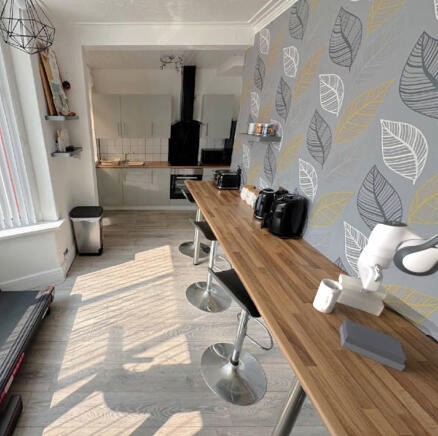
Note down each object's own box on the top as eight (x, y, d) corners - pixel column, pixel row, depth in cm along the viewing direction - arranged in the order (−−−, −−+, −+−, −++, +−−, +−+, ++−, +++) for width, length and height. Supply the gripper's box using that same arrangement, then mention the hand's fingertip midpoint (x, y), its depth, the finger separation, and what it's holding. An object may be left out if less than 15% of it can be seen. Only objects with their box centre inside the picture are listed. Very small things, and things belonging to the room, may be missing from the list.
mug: (312, 299, 101) (321, 276, 96) (331, 305, 98) (341, 282, 93) (312, 314, 93) (322, 290, 88) (333, 322, 90) (344, 297, 85)
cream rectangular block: (380, 290, 97) (383, 286, 96) (383, 300, 92) (386, 295, 91) (338, 278, 104) (340, 273, 103) (339, 286, 99) (342, 281, 98)
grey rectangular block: (393, 350, 80) (400, 339, 78) (401, 371, 73) (409, 361, 71) (339, 328, 87) (344, 318, 85) (341, 346, 80) (347, 336, 78)
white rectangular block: (374, 302, 100) (379, 293, 98) (378, 316, 93) (384, 306, 91) (331, 288, 108) (335, 280, 106) (332, 300, 101) (337, 291, 99)
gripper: (392, 275, 82) (375, 305, 88) (380, 250, 98) (366, 277, 104) (369, 269, 85) (354, 298, 91) (360, 246, 101) (348, 272, 107)
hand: (360, 287), depth 97 cm, fingers closed on cream rectangular block, 6 cm apart
